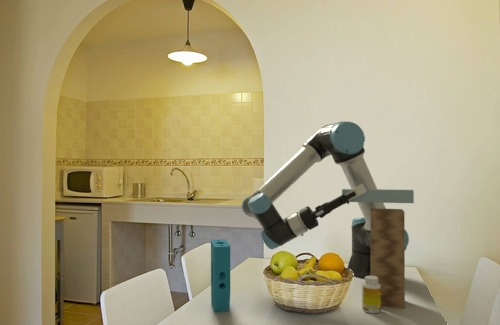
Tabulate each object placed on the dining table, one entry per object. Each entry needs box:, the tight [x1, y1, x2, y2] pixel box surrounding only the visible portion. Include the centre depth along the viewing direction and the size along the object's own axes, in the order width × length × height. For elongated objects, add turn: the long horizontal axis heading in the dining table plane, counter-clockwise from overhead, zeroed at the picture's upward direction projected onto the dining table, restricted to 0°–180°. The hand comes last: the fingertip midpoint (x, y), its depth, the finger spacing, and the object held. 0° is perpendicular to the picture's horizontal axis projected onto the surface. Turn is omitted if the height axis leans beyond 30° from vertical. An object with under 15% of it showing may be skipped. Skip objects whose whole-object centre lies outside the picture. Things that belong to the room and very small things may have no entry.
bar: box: [341, 188, 415, 204], centre depth 131 cm, size 22×4×4 cm, turn 74°
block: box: [210, 239, 231, 313], centre depth 126 cm, size 12×5×20 cm, turn 11°
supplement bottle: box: [361, 276, 382, 314], centre depth 122 cm, size 6×6×10 cm
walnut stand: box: [371, 208, 406, 309], centre depth 130 cm, size 10×8×30 cm
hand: (364, 187), depth 132 cm, fingers closed on bar, 4 cm apart
